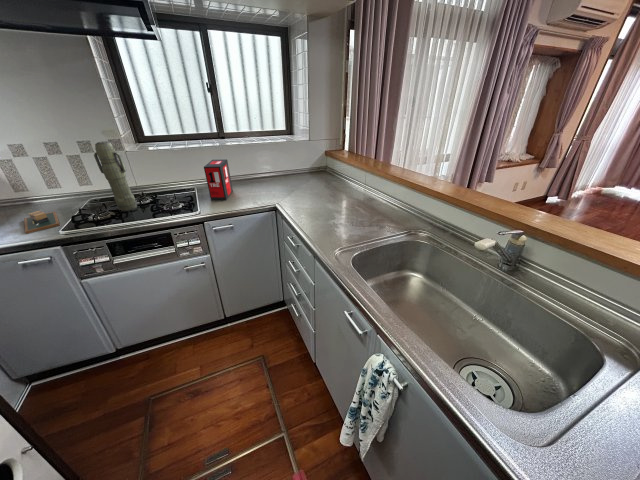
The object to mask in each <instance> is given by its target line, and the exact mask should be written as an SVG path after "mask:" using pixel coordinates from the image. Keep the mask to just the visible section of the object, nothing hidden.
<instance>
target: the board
mask: <svg viewBox="0 0 640 480" xmlns="http://www.w3.org/2000/svg"><path fill="white" fill-rule="evenodd" d="M45 214H46V216H47V217H48V219H49V220H48V221H45V222H42V223H37V222H34V221H33V220H32V219H31V217H30V216H29V217H24V219H23V223H24V232H25V234H26V235H28V234H31V233H35V232H39V231H43V230H47V229H51V228H56V227H59V226H61V224H60V221H59V217H58V215H57V212H56V211H51V212H47V213H45Z"/></svg>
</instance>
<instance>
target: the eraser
mask: <svg viewBox="0 0 640 480" xmlns="http://www.w3.org/2000/svg"><path fill="white" fill-rule="evenodd" d="M28 216H29V217H31V219H32V220H33V221H34V222H37V223H42V222H45V221H48V220H49V219H48V217H47V216H46V213H45V212H43V211H41V210H37V211H34V212H30V213H28Z"/></svg>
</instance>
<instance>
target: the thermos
mask: <svg viewBox="0 0 640 480" xmlns="http://www.w3.org/2000/svg"><path fill="white" fill-rule="evenodd" d="M94 148H95V152H94V154H93V157H94V159H95V162H96V164H97V167H98V169H99V171H100V173H101V174H103V175H104V177H105V179H106V180H107V182H108V185H109V187H110V189H111V192H112V193H113V199H114V201H115V204H116V206H117V208H118V210H119V211H120V210H121V211H120V212H128V211H129V212H130V211H133V210H135V209H137V208H138V205H137V201H136V198H135V196H134V194H133V193H132V191H131V188H130V185H129V183H128V180H127V175H126V172H127V169H126V166H125V163H124V159H123V156H122V154H121V153H120V152H119V151H116V149H115V146H114V145H113V144H112V143H111V142H110V141H97V142H96V143H95V144H94Z"/></svg>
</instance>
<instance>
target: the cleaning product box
mask: <svg viewBox="0 0 640 480" xmlns="http://www.w3.org/2000/svg"><path fill="white" fill-rule="evenodd" d="M203 170H204V175H205V179H206V183H207V188H208V193H209V198H210V201H212V202H213V201H214V202H216V201H217V202H218V201H219V202H220V201H227V200H228V199H229V198H230V196H231V194H232V193H233V191H234V190H233V189H234V188H233V185H232V178H231V174H230V167H229V161H228V159H226V158H225V159H211V160H210V161H209V162H208V163H207V164H205V165H204V166H203Z"/></svg>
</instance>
